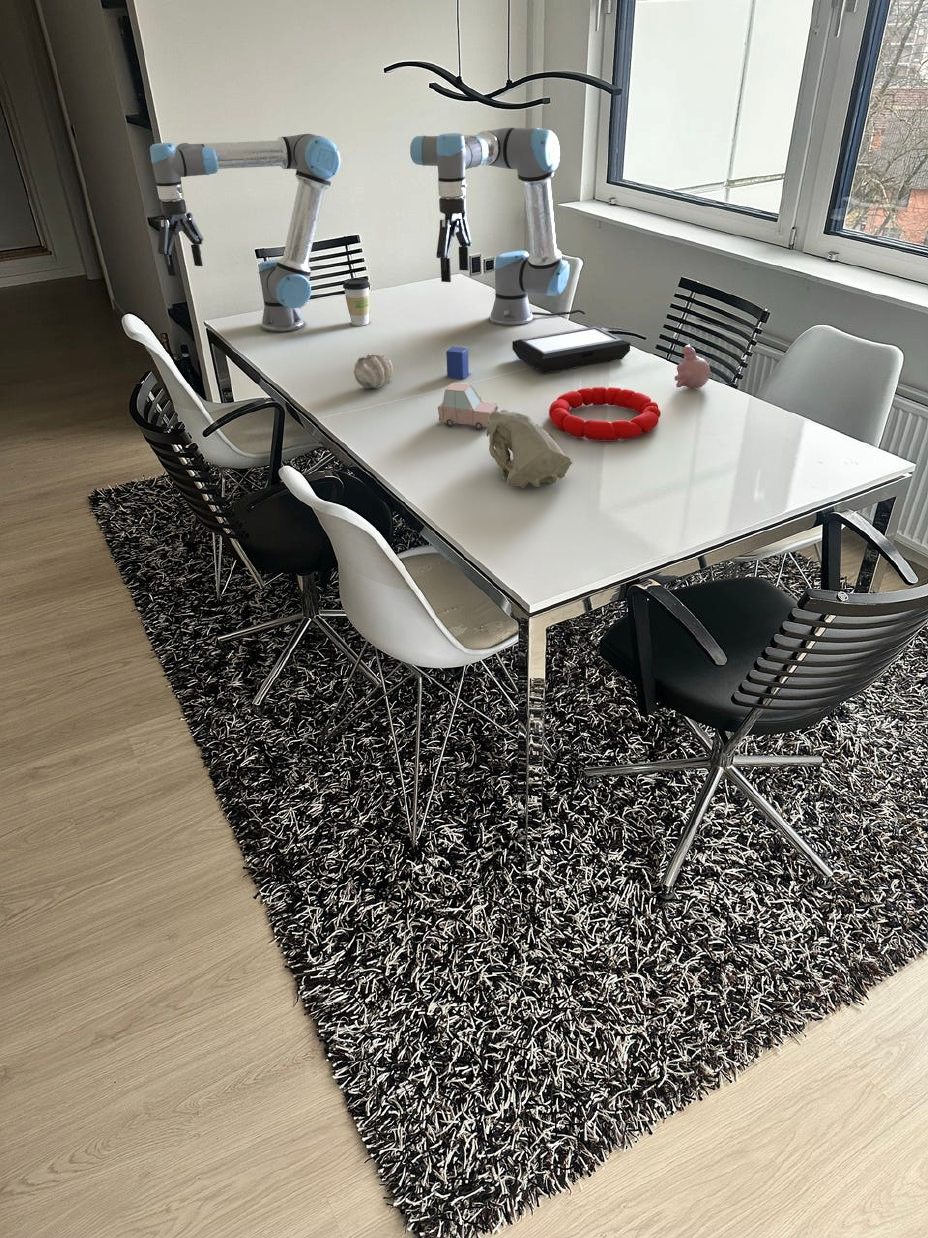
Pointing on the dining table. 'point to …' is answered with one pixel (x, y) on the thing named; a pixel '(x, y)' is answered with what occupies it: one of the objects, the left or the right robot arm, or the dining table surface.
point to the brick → (457, 362)
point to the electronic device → (570, 349)
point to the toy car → (465, 406)
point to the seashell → (373, 371)
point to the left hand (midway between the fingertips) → (186, 270)
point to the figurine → (692, 370)
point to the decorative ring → (604, 428)
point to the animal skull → (525, 450)
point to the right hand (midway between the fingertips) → (455, 275)
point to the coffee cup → (357, 300)
